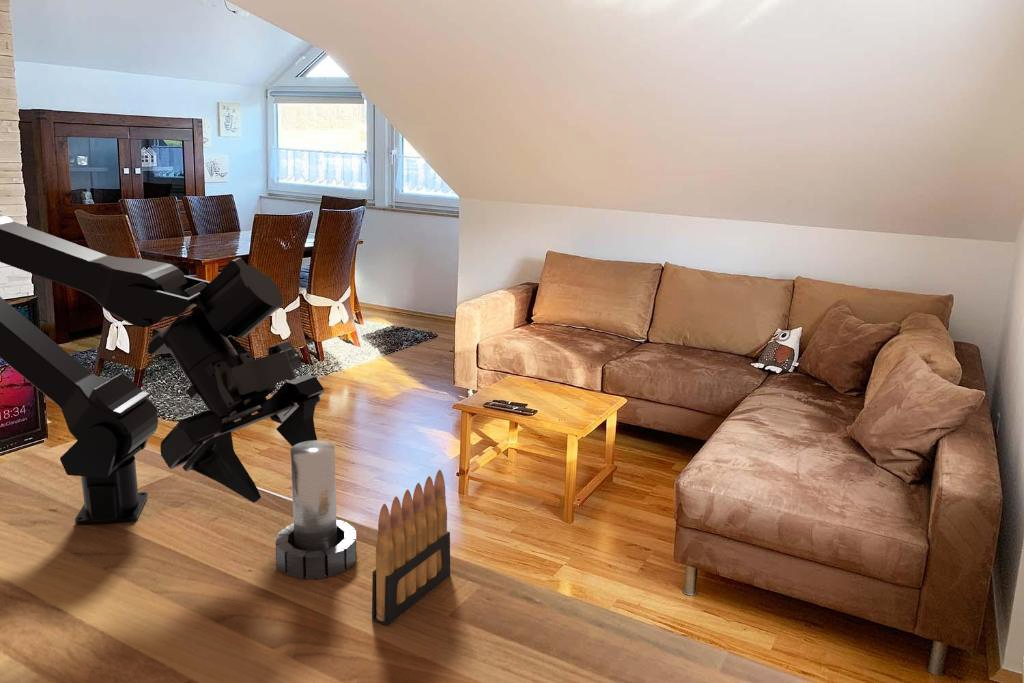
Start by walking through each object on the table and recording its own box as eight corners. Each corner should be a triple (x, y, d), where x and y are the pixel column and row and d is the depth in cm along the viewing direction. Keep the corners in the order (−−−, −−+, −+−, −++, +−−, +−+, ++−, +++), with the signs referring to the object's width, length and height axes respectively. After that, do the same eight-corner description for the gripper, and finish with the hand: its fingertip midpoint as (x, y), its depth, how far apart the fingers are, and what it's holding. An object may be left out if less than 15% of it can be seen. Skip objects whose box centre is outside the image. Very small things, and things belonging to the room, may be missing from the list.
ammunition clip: (386, 627, 80) (386, 510, 76) (371, 620, 81) (369, 505, 77) (450, 575, 89) (452, 468, 85) (436, 569, 90) (437, 464, 86)
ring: (279, 540, 94) (279, 520, 93) (355, 536, 96) (355, 516, 95) (274, 581, 86) (273, 559, 86) (356, 575, 88) (356, 554, 87)
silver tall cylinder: (296, 548, 93) (291, 441, 89) (337, 545, 93) (334, 439, 90) (293, 570, 88) (289, 458, 85) (337, 567, 89) (334, 456, 86)
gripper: (172, 342, 80) (262, 479, 78) (310, 305, 96) (388, 419, 94) (123, 403, 86) (206, 532, 84) (261, 358, 102) (334, 467, 100)
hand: (290, 483), depth 90 cm, fingers open, 9 cm apart
